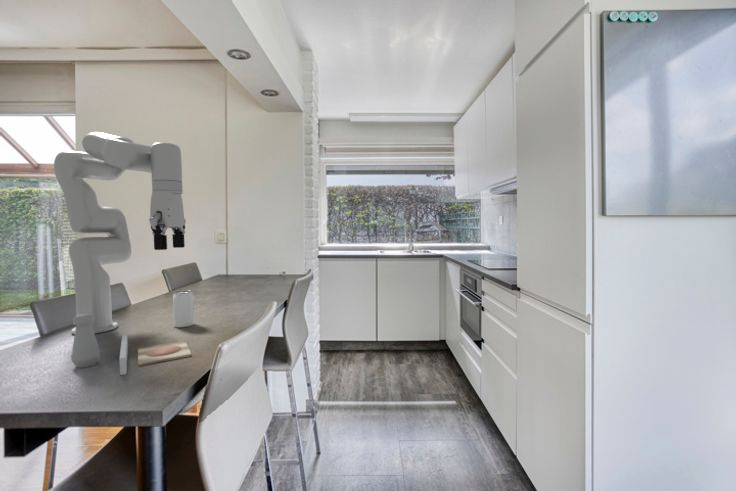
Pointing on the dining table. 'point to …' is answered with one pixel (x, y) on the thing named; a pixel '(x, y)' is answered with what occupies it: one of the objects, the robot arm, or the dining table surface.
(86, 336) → the salt shaker
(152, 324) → the dining table surface
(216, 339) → the dining table surface
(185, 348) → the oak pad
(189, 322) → the can
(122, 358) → the acrylic wall
